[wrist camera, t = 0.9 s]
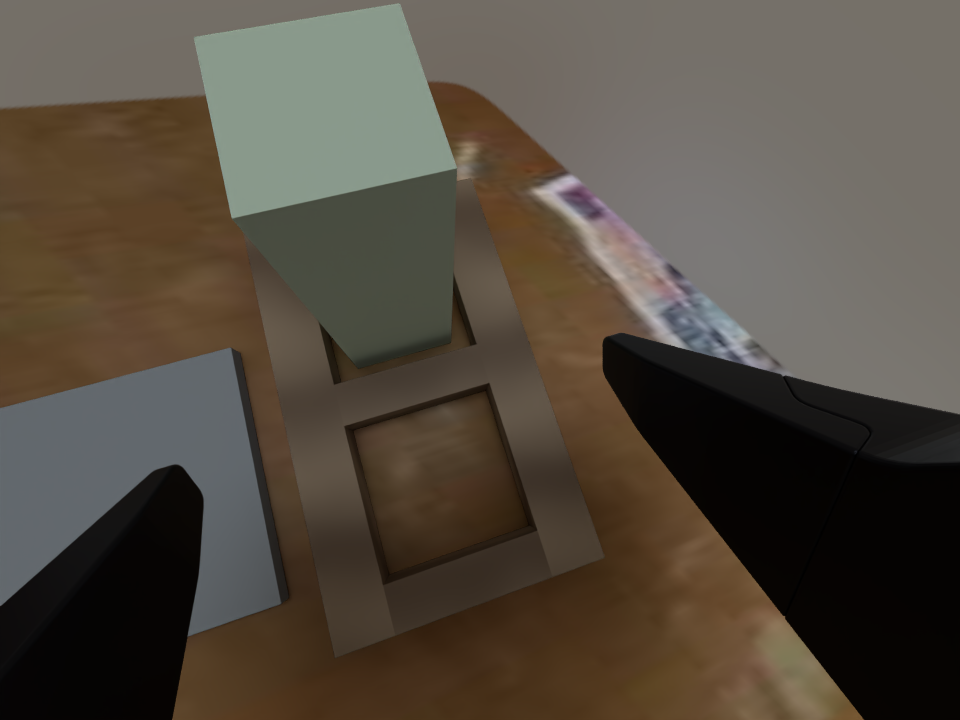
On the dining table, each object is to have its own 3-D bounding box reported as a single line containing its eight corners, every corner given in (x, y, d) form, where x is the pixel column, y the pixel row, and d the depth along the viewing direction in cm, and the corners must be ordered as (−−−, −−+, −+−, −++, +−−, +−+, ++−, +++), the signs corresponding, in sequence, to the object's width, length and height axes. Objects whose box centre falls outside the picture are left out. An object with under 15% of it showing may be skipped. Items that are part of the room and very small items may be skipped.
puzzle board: (590, 549, 22) (605, 557, 20) (345, 640, 20) (334, 658, 18) (469, 200, 26) (470, 178, 24) (259, 249, 24) (242, 230, 22)
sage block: (450, 342, 24) (456, 168, 10) (358, 368, 23) (231, 218, 9) (425, 260, 25) (399, 3, 11) (336, 282, 24) (193, 37, 11)
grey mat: (289, 597, 20) (280, 603, 19) (-4, 699, 18) (-29, 711, 17) (240, 352, 23) (230, 347, 22) (-21, 422, 21) (-43, 419, 20)
